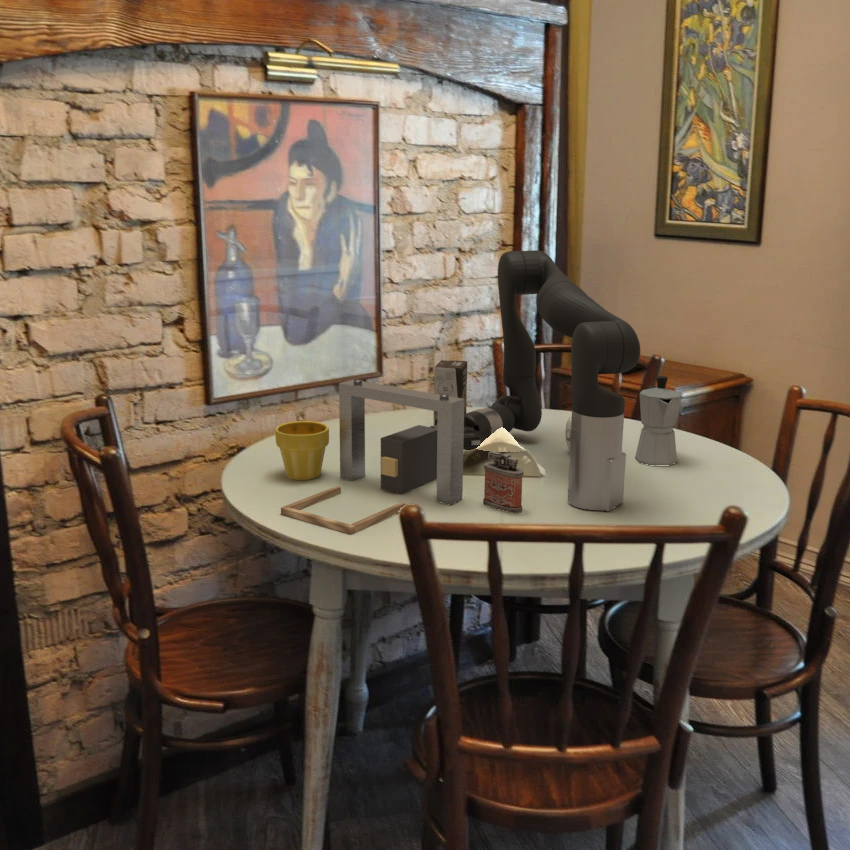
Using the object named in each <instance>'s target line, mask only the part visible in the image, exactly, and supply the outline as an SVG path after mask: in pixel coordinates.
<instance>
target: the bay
mask: <svg viewBox="0 0 850 850" xmlns="http://www.w3.org/2000/svg"><path fill="white" fill-rule="evenodd" d="M341 493H342V487H341V486H339V485H336V486H333V487H330V488H328V489H325V490H323V491H320V492H317V493H315V494H313V495H310V496H307V497H305V498H302V499H299V500H297V501H294V502H292V503H289V504H287V505H284V506H282V507H280V515H283V516H287V517H289V518H293V519H296V520H300V521H303V522H306V523H311V524H314V525H317V526H320V527H324V528H327V529H331V530H335V531H338V532H342V533H345V534H348V535H353V534H356V533H357V532H359V531H362V530H364V529H366V528H368V527H370V526H373V525H375V524H377V523H379V522H382V521H384V520H386V519H388V518H390V517H393V516H395V515H397V514H399V513H398V511H399V510H400V508H401V507H403V506H404V505H405V506H406V503H405V502H398V503H396V504H394V505H392V506H389V507H387V508H385V509H383V510H381V511H378V512H376V513H374V514H372V515H369V516H367V517H364V518H362V519H360V520H358V521H355V522H353V523H351V524H349V523H347V522H346V523H345V522H342V521H339V520H335V519H332V518H328V517H324V516H321V515H319V514H318V515H317V514H315V513H311V512H308V511H307V512H306V511H303V510H302V509H305V508H307V507H310V506H312V505H314V504H317V503H320V502H322V501H325V500H327V499H329V498H332V497H335V496H337V495H338V496H339V494H341ZM394 514H395V515H394ZM392 515H393V516H392Z"/></svg>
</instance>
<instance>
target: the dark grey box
mask: <svg viewBox="0 0 850 850" xmlns="http://www.w3.org/2000/svg"><path fill="white" fill-rule="evenodd" d="M435 479H436V480H437V429H436V428H431V427H430V426H425V425H420V424H417V425H414V426H412V427H409V428H406V429H403V430H401V431H397V432H394V433H392V434H388V435H386V436H382V437H380V490H383V491H388V492H392V493H395V494H399V495H403V494H405V493H408V492H411V491H413V490H415V489H418V488H420V487H422V486H424V484H425V485H427V484H429V483H431V481H432V482H434V481H436V480H435ZM433 480H434V481H433ZM428 482H429V483H428ZM426 483H427V484H426ZM419 486H420V487H419Z"/></svg>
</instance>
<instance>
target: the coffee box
mask: <svg viewBox="0 0 850 850" xmlns="http://www.w3.org/2000/svg"><path fill="white" fill-rule="evenodd" d="M433 378H434V380H433V386H434V387H433V394H439V395H441V394H447V395H449V396H450V397H456V398H462V399H464V414H466V413H467V404H468V403H467V401H468V400H467V394H468V361H467V360H445V359H444V360H443V359H442V360H440V361H439V362H438V363H437V364H436V365H435V366H434V377H433ZM432 426H434V427H435V428H438V412H437V411H433V425H432Z"/></svg>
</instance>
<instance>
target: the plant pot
mask: <svg viewBox="0 0 850 850" xmlns="http://www.w3.org/2000/svg"><path fill="white" fill-rule="evenodd" d="M274 432H275V433H274V434H275V435H274V436H275V445H276V447H278V448H279V450H280V455H281V457H282V462H283V467H284V470H285V474H286V477H287V478H289V479H291V480H294V481H295V480H297V481H307V480H308V481H309V480H313V479H316V478H318V477H319V476H321V473H322V467H323V462H324V459H325V458H324V457H325V451H326V447H327V446H328V445H329V443H330V428H329V426H328V425H327V424H325V423H323V422H320V421H312V420H298V421H289V422H285V423H281V424H280V425H277V426H276V427H275V430H274Z"/></svg>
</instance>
